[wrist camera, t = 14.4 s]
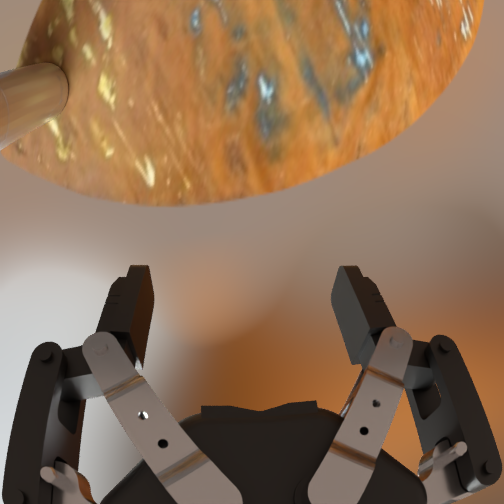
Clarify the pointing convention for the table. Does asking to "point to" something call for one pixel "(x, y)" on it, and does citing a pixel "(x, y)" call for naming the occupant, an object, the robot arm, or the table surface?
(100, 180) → the table surface
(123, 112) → the table surface
